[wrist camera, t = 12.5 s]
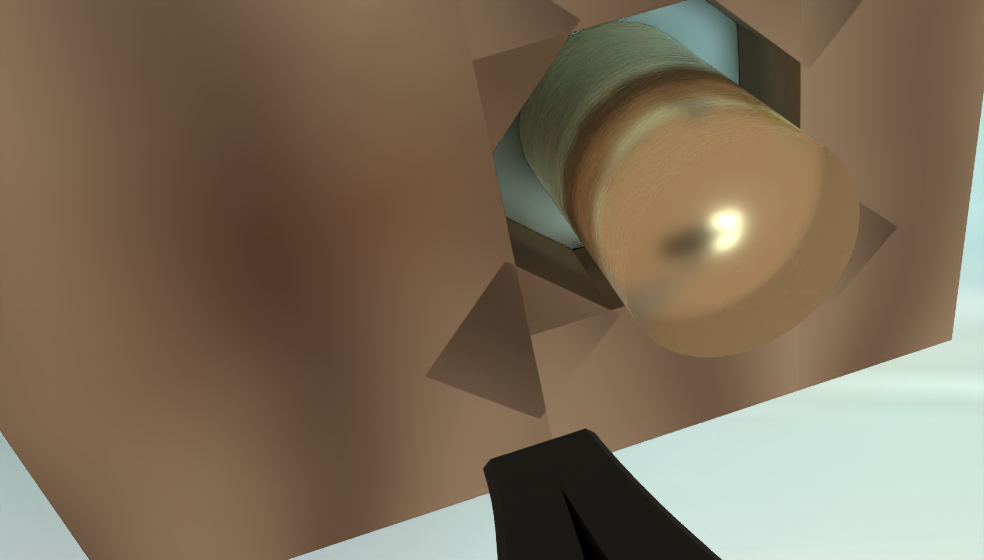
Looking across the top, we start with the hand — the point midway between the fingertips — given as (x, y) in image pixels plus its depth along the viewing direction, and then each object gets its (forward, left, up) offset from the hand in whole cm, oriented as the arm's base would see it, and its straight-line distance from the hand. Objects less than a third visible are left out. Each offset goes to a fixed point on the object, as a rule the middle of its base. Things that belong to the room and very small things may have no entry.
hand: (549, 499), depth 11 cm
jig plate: (+1, 0, -9) cm, 9 cm away
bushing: (+4, 0, -9) cm, 10 cm away
